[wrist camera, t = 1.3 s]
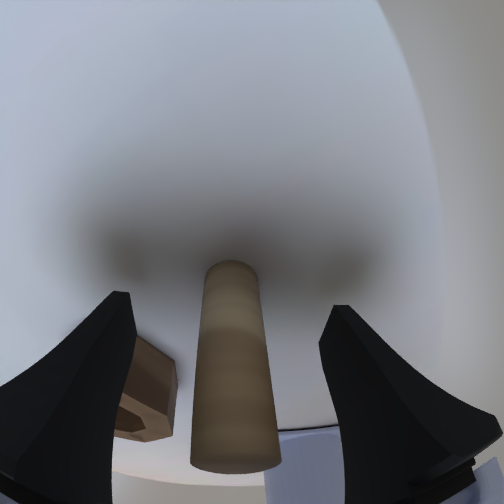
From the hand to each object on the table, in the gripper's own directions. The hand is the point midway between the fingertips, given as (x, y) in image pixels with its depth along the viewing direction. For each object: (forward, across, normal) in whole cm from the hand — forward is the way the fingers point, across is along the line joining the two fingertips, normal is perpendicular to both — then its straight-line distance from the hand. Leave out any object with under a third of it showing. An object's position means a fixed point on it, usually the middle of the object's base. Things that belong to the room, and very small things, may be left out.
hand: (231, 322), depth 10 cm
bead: (+2, +6, +7) cm, 10 cm away
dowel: (+2, 0, 0) cm, 2 cm away
